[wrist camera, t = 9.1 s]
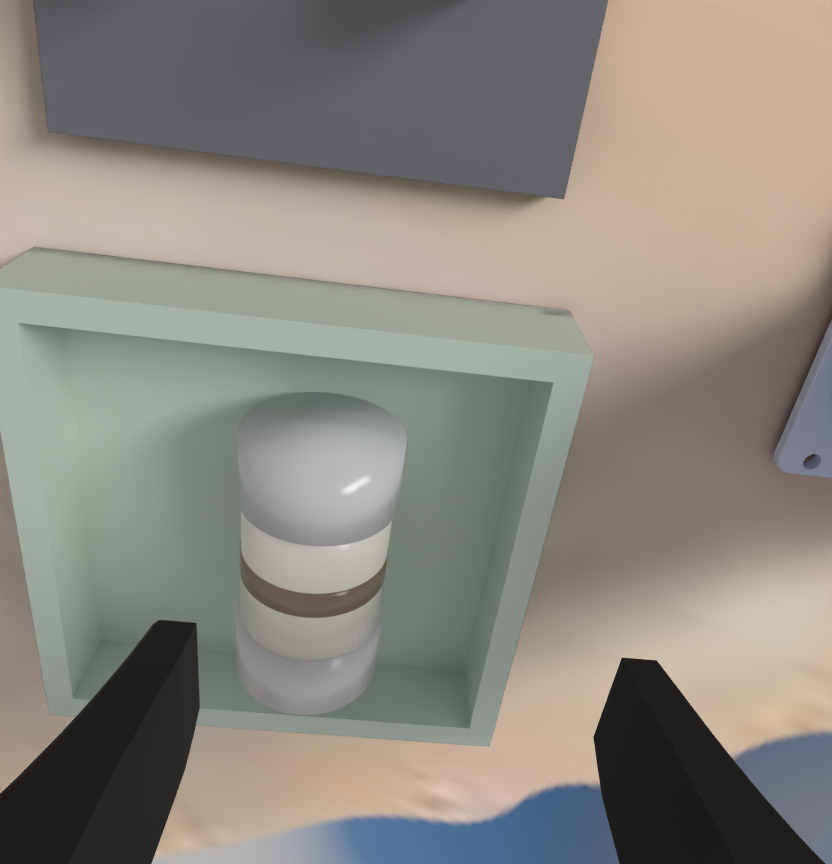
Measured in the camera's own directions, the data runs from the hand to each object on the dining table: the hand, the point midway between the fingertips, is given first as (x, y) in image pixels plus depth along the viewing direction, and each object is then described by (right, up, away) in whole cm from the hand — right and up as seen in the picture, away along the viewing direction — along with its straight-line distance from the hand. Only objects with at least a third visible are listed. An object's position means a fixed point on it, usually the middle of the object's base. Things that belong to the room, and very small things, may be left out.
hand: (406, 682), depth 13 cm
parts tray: (-3, +2, +10) cm, 11 cm away
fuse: (-3, +2, +10) cm, 10 cm away
